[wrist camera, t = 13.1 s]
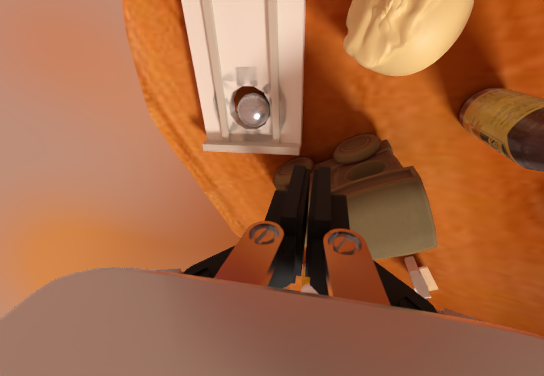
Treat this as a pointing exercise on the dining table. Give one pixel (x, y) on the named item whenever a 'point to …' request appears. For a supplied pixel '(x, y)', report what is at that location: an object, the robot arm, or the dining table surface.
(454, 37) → the sculpture
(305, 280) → the supplement bottle
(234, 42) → the white tray
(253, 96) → the steel ball
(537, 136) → the sauce bottle
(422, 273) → the architectural model
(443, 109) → the dining table surface
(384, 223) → the wooden toy train
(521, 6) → the dining table surface
